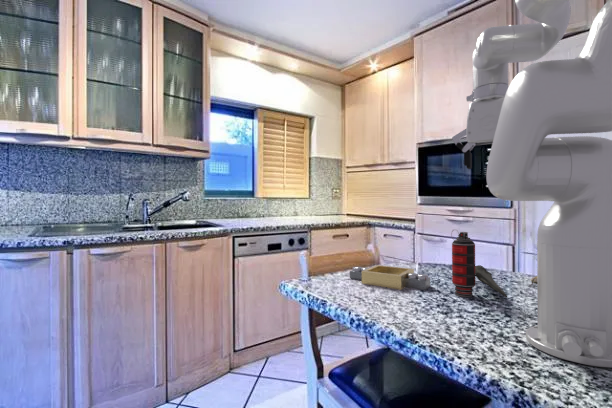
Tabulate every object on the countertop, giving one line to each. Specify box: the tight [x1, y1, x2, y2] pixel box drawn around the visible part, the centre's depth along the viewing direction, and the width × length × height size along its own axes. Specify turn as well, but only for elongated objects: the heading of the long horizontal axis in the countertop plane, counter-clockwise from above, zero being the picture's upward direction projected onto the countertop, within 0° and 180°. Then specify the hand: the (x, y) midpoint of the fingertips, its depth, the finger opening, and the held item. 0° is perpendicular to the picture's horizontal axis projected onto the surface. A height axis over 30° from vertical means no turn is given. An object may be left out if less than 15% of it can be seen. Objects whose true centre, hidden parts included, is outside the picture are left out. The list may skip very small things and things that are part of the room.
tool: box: [475, 265, 508, 299], centre depth 81 cm, size 21×8×3 cm
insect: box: [529, 275, 537, 287], centre depth 84 cm, size 6×9×3 cm, turn 112°
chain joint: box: [349, 264, 431, 291], centre depth 87 cm, size 10×21×4 cm, turn 56°
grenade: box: [450, 229, 476, 298], centre depth 76 cm, size 6×5×15 cm
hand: (491, 166), depth 79 cm, fingers open, 9 cm apart
